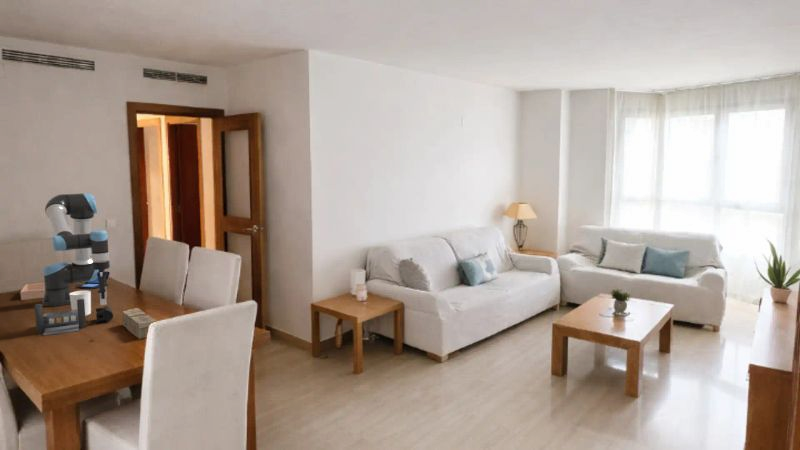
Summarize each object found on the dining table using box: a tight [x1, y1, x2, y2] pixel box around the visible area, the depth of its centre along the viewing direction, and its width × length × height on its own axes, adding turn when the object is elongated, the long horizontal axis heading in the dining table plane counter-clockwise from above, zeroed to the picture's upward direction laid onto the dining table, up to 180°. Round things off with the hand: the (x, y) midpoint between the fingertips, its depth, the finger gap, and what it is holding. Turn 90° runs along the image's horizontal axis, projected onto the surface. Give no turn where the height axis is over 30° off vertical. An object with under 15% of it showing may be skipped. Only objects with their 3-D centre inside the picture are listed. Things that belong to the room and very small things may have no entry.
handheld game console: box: [75, 270, 111, 290], centre depth 335 cm, size 16×13×9 cm
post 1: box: [34, 303, 45, 335], centre depth 241 cm, size 3×3×14 cm
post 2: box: [77, 299, 87, 329], centre depth 249 cm, size 3×3×14 cm
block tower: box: [122, 307, 157, 340], centre depth 245 cm, size 8×8×29 cm
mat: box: [42, 324, 80, 337], centre depth 246 cm, size 11×14×1 cm
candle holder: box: [69, 289, 92, 317], centre depth 271 cm, size 10×10×12 cm
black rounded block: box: [95, 305, 114, 325], centre depth 260 cm, size 10×7×7 cm
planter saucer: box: [20, 282, 45, 301], centre depth 315 cm, size 21×20×5 cm
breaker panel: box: [43, 309, 79, 329], centre depth 254 cm, size 8×16×6 cm, turn 119°
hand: (103, 302), depth 259 cm, fingers open, 13 cm apart
